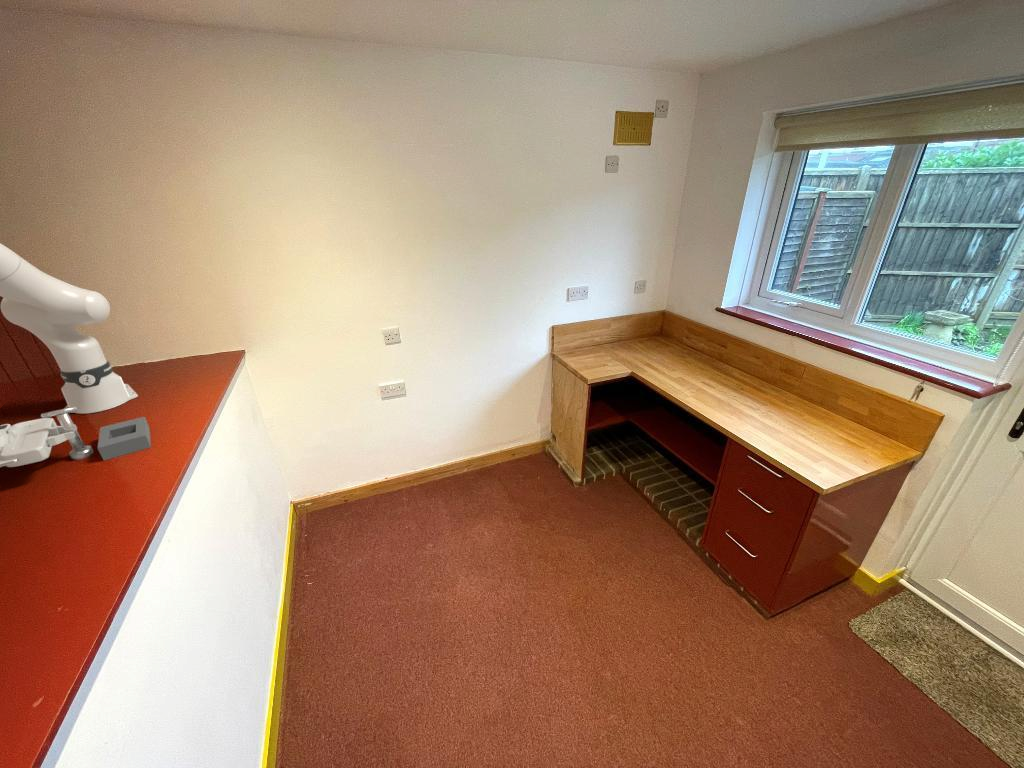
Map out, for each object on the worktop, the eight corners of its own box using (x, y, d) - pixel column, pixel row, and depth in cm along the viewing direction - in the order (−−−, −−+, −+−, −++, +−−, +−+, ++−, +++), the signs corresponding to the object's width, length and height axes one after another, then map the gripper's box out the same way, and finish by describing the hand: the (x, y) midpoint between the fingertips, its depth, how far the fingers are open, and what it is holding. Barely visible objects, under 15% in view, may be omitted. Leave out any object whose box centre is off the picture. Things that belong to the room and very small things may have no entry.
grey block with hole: (105, 439, 122) (100, 427, 120) (149, 427, 127) (144, 416, 126) (103, 460, 112) (97, 448, 110) (150, 447, 118) (145, 435, 116)
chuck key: (65, 456, 114) (41, 411, 108) (98, 448, 117) (76, 403, 112) (63, 463, 111) (38, 417, 105) (97, 454, 114) (74, 409, 108)
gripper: (-19, 457, 95) (65, 436, 103) (1, 422, 109) (73, 406, 117) (-4, 479, 98) (77, 457, 106) (13, 442, 112) (83, 426, 120)
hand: (75, 430), depth 112 cm, fingers open, 3 cm apart
